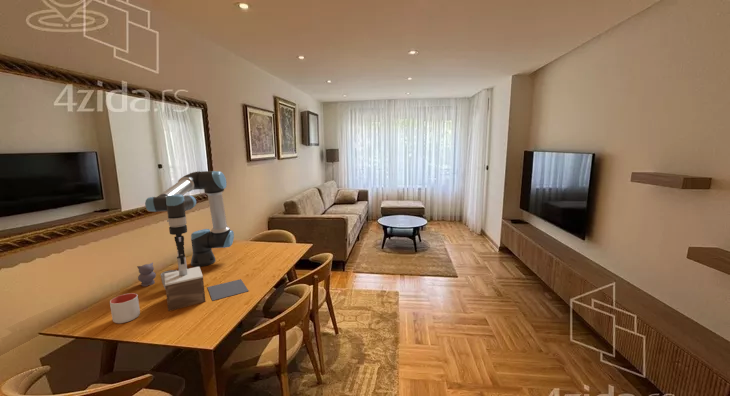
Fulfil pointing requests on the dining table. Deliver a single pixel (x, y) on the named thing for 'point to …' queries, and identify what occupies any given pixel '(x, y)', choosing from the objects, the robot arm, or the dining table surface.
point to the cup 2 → (164, 276)
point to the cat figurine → (146, 274)
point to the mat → (227, 289)
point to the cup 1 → (125, 308)
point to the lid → (182, 275)
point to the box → (185, 294)
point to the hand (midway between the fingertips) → (182, 266)
